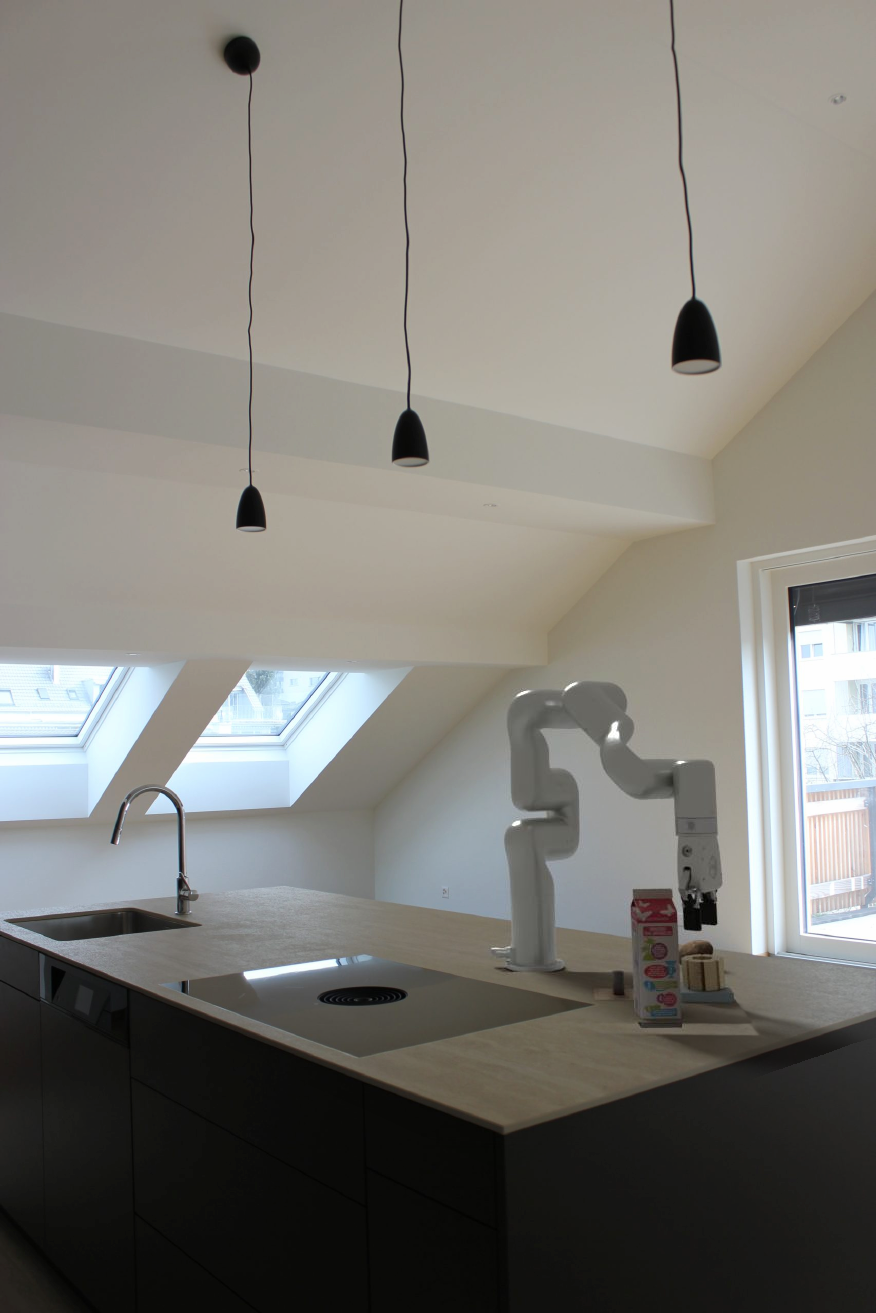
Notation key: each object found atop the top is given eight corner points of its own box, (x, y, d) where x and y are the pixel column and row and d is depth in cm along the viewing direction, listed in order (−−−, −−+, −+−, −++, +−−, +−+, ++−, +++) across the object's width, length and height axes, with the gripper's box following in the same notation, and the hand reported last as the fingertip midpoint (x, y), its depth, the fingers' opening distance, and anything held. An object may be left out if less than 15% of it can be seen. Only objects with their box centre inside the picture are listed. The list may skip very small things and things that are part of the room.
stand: (595, 1008, 180) (594, 976, 180) (593, 996, 189) (592, 966, 189) (646, 1008, 179) (645, 976, 179) (642, 997, 188) (641, 966, 188)
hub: (681, 1010, 177) (680, 969, 178) (675, 998, 186) (674, 959, 187) (734, 1010, 176) (732, 969, 177) (725, 998, 185) (724, 959, 186)
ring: (715, 992, 177) (713, 962, 177) (677, 988, 181) (675, 960, 181) (730, 984, 182) (728, 955, 183) (693, 981, 186) (691, 953, 187)
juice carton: (634, 1017, 173) (629, 886, 175) (674, 1017, 172) (668, 886, 175) (641, 1027, 166) (636, 891, 168) (682, 1027, 166) (676, 890, 168)
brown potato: (718, 948, 217) (703, 926, 216) (725, 970, 210) (709, 947, 208) (685, 965, 219) (670, 943, 218) (691, 987, 211) (675, 964, 210)
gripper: (697, 830, 175) (702, 936, 173) (733, 825, 189) (738, 922, 187) (657, 829, 180) (661, 932, 178) (695, 824, 194) (699, 919, 192)
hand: (700, 926), depth 183 cm, fingers open, 6 cm apart
